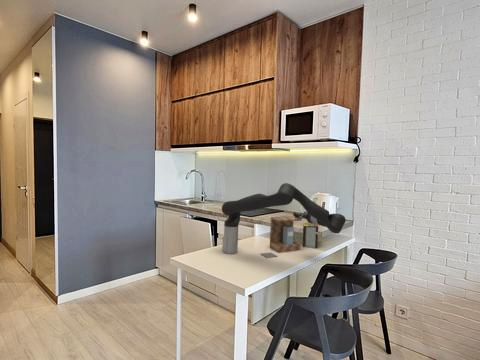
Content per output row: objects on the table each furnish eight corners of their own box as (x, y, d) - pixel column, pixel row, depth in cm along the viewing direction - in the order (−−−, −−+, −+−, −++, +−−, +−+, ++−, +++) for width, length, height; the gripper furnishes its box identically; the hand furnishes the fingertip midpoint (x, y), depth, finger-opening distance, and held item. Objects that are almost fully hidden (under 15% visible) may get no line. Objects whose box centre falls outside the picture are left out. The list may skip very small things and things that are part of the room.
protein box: (316, 242, 211) (317, 222, 211) (317, 248, 196) (318, 226, 196) (302, 241, 214) (303, 221, 213) (302, 247, 199) (303, 225, 198)
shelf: (278, 252, 183) (279, 220, 182) (269, 248, 193) (270, 217, 192) (300, 250, 191) (302, 218, 190) (290, 245, 201) (292, 216, 200)
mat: (266, 258, 172) (266, 257, 172) (260, 254, 179) (260, 253, 179) (277, 256, 175) (277, 256, 175) (270, 252, 182) (270, 252, 182)
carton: (287, 245, 187) (287, 227, 187) (282, 243, 192) (283, 225, 191) (293, 244, 190) (293, 227, 189) (288, 242, 194) (289, 225, 194)
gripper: (325, 211, 168) (308, 207, 183) (306, 212, 162) (290, 208, 177) (325, 223, 169) (307, 218, 183) (306, 225, 163) (289, 220, 177)
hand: (299, 213), depth 180 cm, fingers open, 8 cm apart
